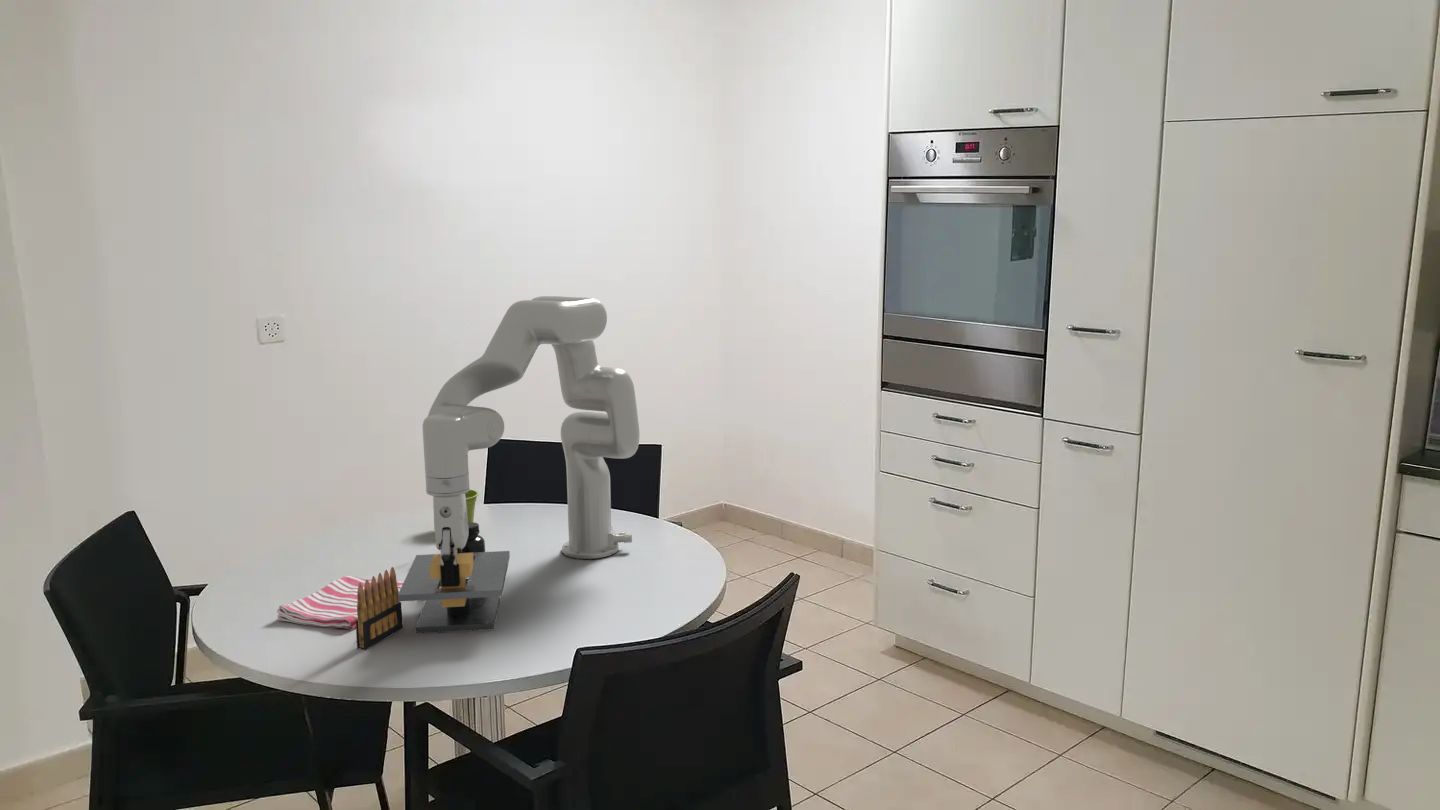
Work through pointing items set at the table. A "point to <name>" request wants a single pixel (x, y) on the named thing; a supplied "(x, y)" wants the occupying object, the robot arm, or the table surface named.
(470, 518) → the plant pot
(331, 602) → the dish towel
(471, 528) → the supplement bottle
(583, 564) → the table surface
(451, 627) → the gray tiered stand
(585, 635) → the table surface
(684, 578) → the table surface
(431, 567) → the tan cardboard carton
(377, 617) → the ammunition clip
